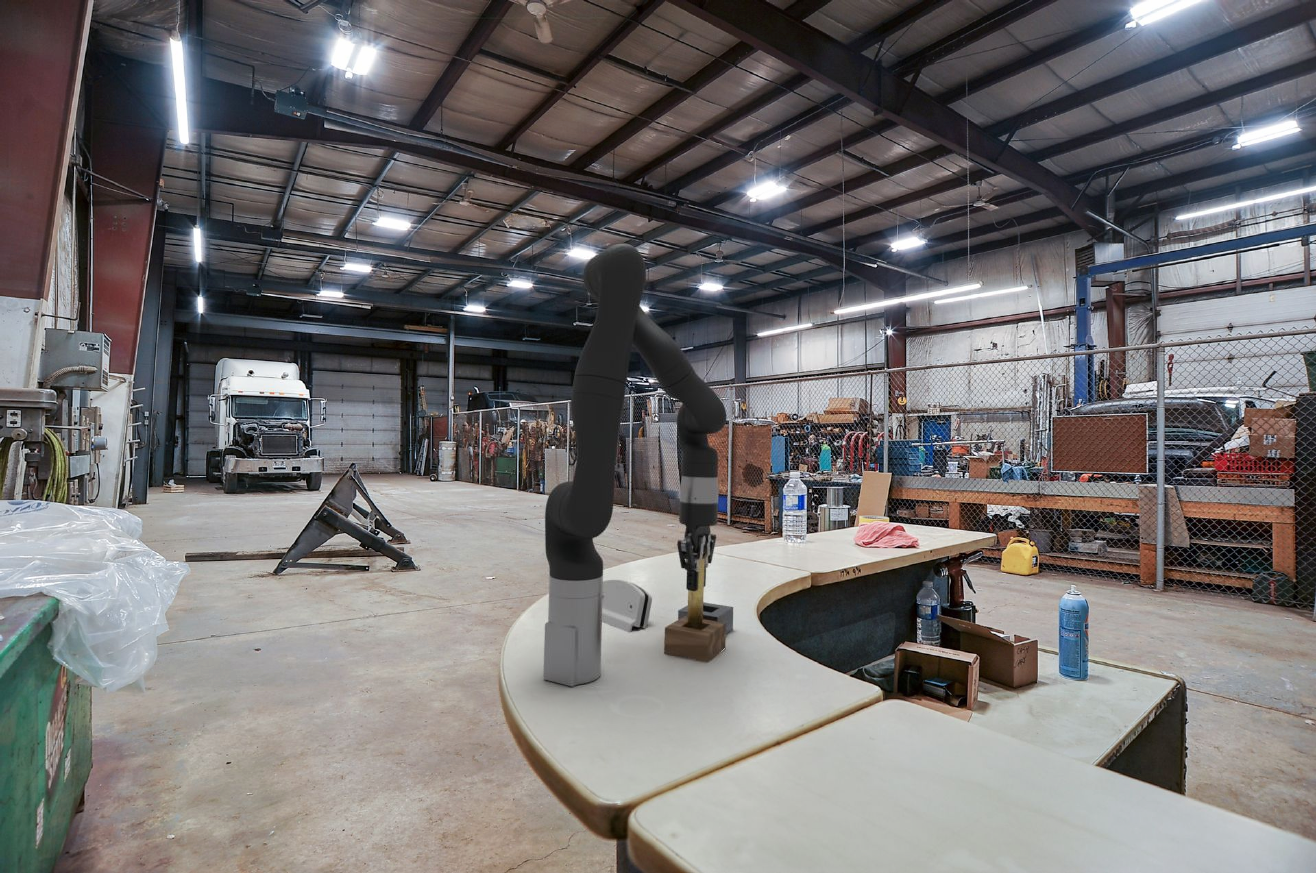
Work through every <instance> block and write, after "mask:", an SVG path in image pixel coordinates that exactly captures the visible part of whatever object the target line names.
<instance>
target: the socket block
mask: <svg viewBox="0 0 1316 873" xmlns="http://www.w3.org/2000/svg"><path fill="white" fill-rule="evenodd" d="M687 613H688V605H686V606H684V607H682V608H681V609H678V611H677V620H679V619H681V618H682V617H684V616H687ZM703 619H705V620H710V621H716V622H722V623H726V636H727V635H728V634H730V633H731V632H732V631H733V630H734V606H729V605H724V604H715V603H709V602H704V601H703Z"/></svg>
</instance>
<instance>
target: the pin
mask: <svg viewBox="0 0 1316 873" xmlns="http://www.w3.org/2000/svg"><path fill="white" fill-rule="evenodd" d="M694 561H695V559H694ZM704 565H705V558H702V559H701V560H700V563H699V570H698V572H699V579H698V590H697V591H690V590H687V606H688V613H687V626H689V627H702V626H703V602H704V594H705V593H704V592H705V591H704V590H705V587H704Z"/></svg>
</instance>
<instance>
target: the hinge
mask: <svg viewBox="0 0 1316 873" xmlns="http://www.w3.org/2000/svg"><path fill="white" fill-rule="evenodd" d="M652 602H653V597H652V595H650V593H649V592H647V590H645V589H644V588H642V587H641V586H639V585H637V584H635V583H633V582H631V581H630V582H629V581H627V580H624V579H623V580H622V579H607V580H603V593H602V621H603V622H602V623H604V624H606V625H609V626H611V627H614V628H617V629H619V630H622V631H624V632H627V633H631V632H632V629H633V627H637V628H642V629H645V630H646V629H647V628H648V624H649V620H650V613H651V608H652Z"/></svg>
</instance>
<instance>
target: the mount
mask: <svg viewBox="0 0 1316 873" xmlns="http://www.w3.org/2000/svg"><path fill="white" fill-rule="evenodd" d="M726 636H727V635H726V623H722V622H716V621H710V620H705V619H703V626H702V627H689V626H687V616H684V617H682V618H681V619H679V620H678V619H676V620H675V621H674V622H672V623H670V624H668V625H666V626H665V627H664V644H663V645H664V647H663V648H664V649H663V651H664V652H663V654H664V655H668V656H673V657H678V658H683V659H688V660H693V661H698V662H702V663H703V662H704V663H709V662H710V661H711V660H713V659H714V658H715V657H717V656H718V655H719V654H720V653H722V652H723V651H724V650H725V649H726V642H727V640H726ZM724 648H725V649H724ZM723 649H724V650H723ZM722 650H723V651H722ZM721 651H722V652H721ZM719 652H720V653H719ZM717 654H718V655H717Z"/></svg>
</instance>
